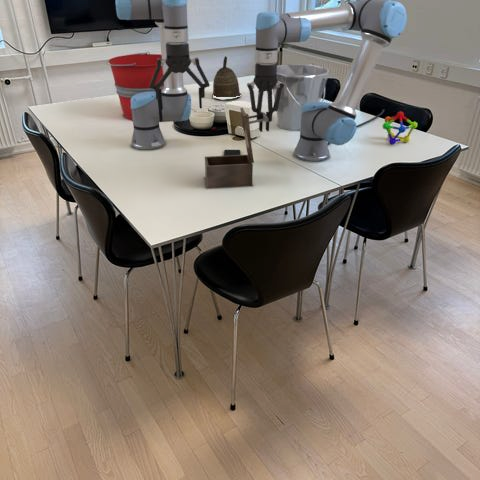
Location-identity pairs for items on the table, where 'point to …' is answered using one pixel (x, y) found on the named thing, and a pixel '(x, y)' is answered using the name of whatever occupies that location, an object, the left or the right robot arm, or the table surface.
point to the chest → (228, 171)
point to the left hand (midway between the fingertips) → (181, 108)
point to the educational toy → (398, 128)
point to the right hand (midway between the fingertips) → (264, 130)
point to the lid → (246, 130)
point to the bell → (225, 82)
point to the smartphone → (231, 152)
